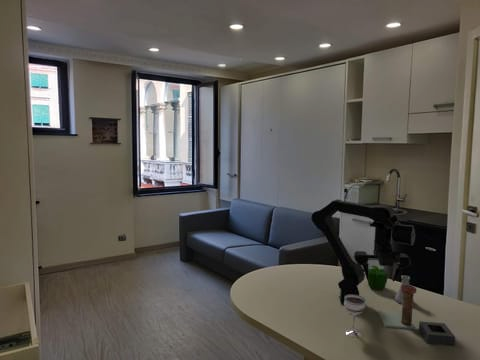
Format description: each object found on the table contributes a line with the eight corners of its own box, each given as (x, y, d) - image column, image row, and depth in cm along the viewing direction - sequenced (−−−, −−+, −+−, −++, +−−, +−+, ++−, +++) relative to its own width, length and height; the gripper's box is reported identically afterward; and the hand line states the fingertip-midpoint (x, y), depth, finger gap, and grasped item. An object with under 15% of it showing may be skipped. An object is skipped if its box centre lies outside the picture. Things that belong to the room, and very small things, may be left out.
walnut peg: (401, 326, 123) (403, 290, 121) (397, 319, 128) (399, 284, 126) (415, 327, 122) (418, 291, 120) (411, 320, 127) (413, 285, 125)
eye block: (427, 343, 114) (428, 334, 114) (418, 329, 122) (419, 321, 122) (454, 345, 113) (455, 336, 113) (443, 331, 121) (444, 323, 121)
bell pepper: (388, 286, 156) (390, 264, 155) (384, 293, 149) (386, 270, 148) (368, 282, 161) (370, 260, 159) (364, 288, 154) (365, 266, 152)
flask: (416, 306, 139) (418, 281, 138) (396, 304, 140) (398, 279, 139) (410, 297, 146) (412, 274, 145) (392, 296, 147) (393, 272, 146)
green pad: (384, 326, 124) (384, 325, 124) (377, 312, 133) (378, 311, 133) (415, 329, 122) (415, 327, 122) (406, 314, 132) (406, 313, 132)
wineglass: (347, 325, 125) (349, 292, 123) (366, 332, 120) (368, 298, 119) (339, 333, 119) (340, 299, 118) (359, 341, 115) (361, 305, 114)
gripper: (360, 245, 125) (358, 287, 127) (417, 247, 122) (414, 291, 124) (354, 236, 135) (352, 275, 138) (407, 238, 133) (404, 278, 135)
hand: (380, 280), depth 133 cm, fingers open, 9 cm apart
